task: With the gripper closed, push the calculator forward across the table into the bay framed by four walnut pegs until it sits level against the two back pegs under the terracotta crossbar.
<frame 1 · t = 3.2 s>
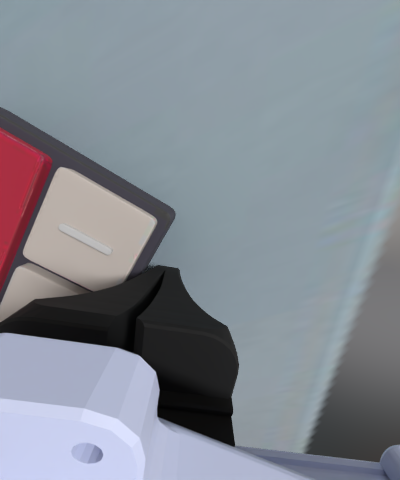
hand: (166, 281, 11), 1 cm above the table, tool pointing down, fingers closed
calculator: (58, 261, 13), on the table, touching gripper
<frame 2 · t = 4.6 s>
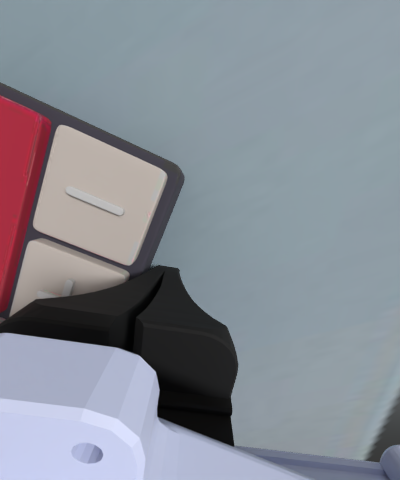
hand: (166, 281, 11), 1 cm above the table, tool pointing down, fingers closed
calculator: (70, 246, 13), on the table, touching gripper
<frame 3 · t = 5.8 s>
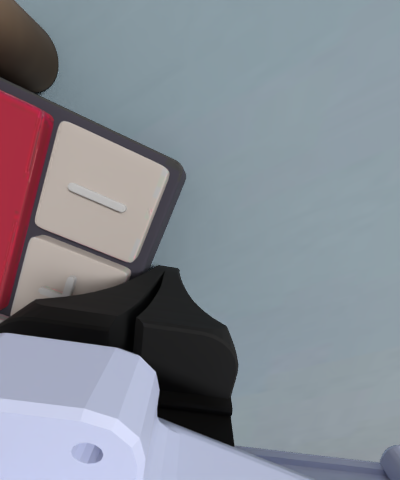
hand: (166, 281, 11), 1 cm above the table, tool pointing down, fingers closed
calculator: (71, 244, 13), on the table, touching gripper
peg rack: (41, 252, 12), on the table
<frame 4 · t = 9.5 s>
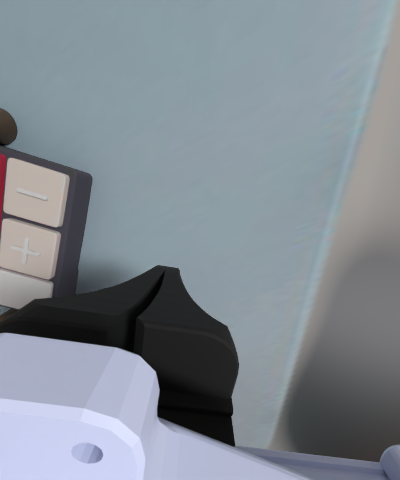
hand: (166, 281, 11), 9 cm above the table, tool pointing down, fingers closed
calculator: (35, 227, 21), on the table
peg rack: (11, 235, 20), on the table
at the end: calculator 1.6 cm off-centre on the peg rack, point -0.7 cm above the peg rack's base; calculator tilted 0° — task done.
